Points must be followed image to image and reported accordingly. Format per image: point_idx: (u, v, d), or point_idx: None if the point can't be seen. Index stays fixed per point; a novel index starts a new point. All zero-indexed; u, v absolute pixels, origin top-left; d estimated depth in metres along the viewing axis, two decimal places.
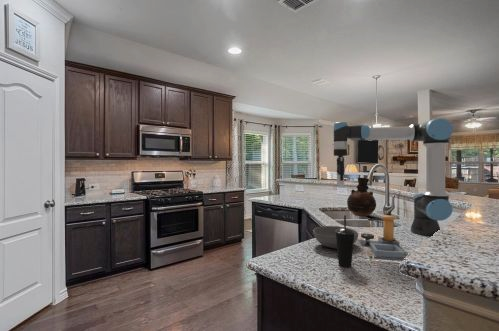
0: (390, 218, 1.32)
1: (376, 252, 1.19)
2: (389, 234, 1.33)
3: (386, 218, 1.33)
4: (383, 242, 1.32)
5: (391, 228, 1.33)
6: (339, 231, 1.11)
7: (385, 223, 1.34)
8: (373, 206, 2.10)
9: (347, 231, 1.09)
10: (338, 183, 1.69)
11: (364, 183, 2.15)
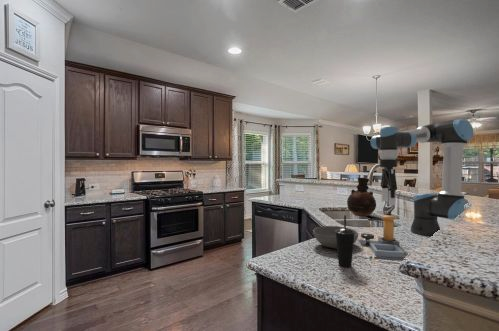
0: (390, 218, 1.32)
1: (376, 252, 1.19)
2: (389, 234, 1.33)
3: (386, 218, 1.33)
4: (383, 242, 1.32)
5: (391, 228, 1.33)
6: (339, 231, 1.11)
7: (385, 223, 1.34)
8: (373, 206, 2.10)
9: (347, 231, 1.09)
10: (383, 199, 1.41)
11: (364, 183, 2.15)
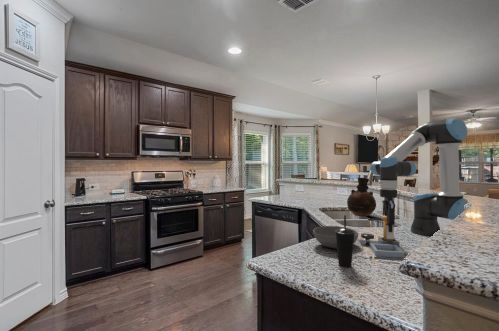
0: None
1: (376, 252, 1.19)
2: None
3: (386, 218, 1.33)
4: (383, 242, 1.32)
5: None
6: (339, 231, 1.11)
7: (385, 223, 1.34)
8: (373, 206, 2.10)
9: (347, 231, 1.09)
10: None
11: (364, 183, 2.15)
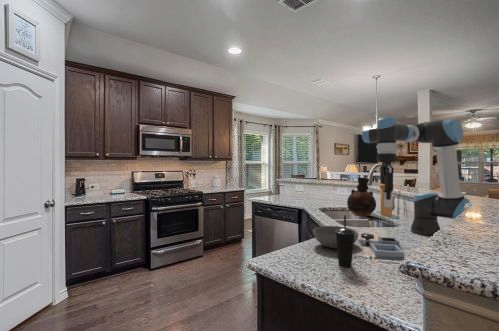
0: None
1: (376, 252, 1.19)
2: None
3: (384, 185, 1.21)
4: (383, 242, 1.32)
5: None
6: (339, 231, 1.11)
7: (382, 191, 1.22)
8: (373, 206, 2.10)
9: (347, 231, 1.09)
10: None
11: (364, 183, 2.15)
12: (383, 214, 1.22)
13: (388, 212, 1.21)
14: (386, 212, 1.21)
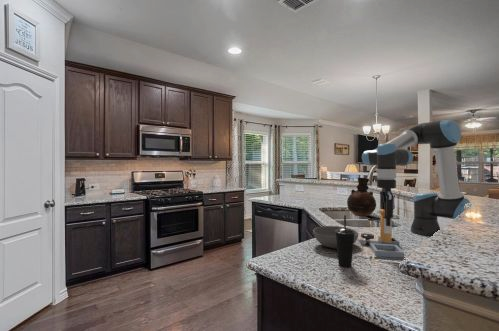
0: None
1: (376, 252, 1.19)
2: None
3: (383, 212, 1.21)
4: (383, 242, 1.32)
5: None
6: (339, 231, 1.11)
7: (382, 217, 1.22)
8: (373, 206, 2.10)
9: (347, 231, 1.09)
10: None
11: (364, 183, 2.15)
12: (383, 240, 1.22)
13: (388, 239, 1.21)
14: (386, 238, 1.21)
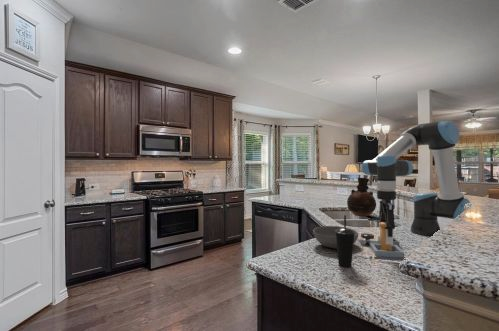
0: None
1: (376, 252, 1.19)
2: None
3: (384, 225, 1.21)
4: None
5: None
6: (339, 231, 1.11)
7: (383, 231, 1.22)
8: (373, 206, 2.10)
9: (347, 231, 1.09)
10: None
11: (364, 183, 2.15)
12: None
13: None
14: None
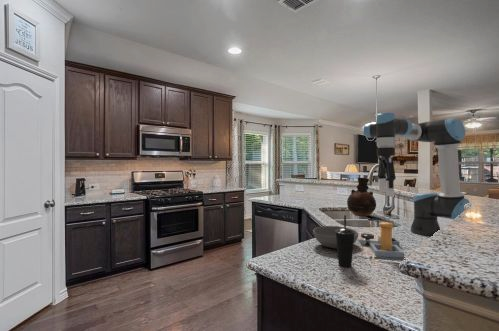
0: (388, 225, 1.21)
1: (376, 252, 1.19)
2: (387, 243, 1.21)
3: (384, 225, 1.21)
4: None
5: (389, 236, 1.21)
6: (339, 231, 1.11)
7: (382, 231, 1.22)
8: (373, 206, 2.10)
9: (347, 231, 1.09)
10: (381, 190, 1.34)
11: (364, 183, 2.15)
12: None
13: None
14: None
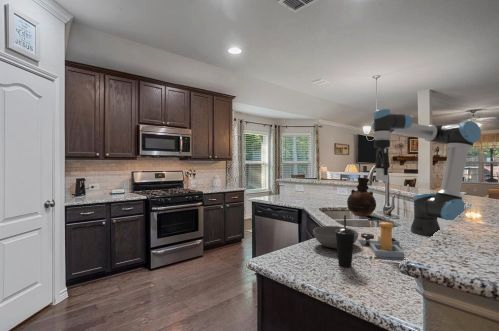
0: (388, 225, 1.21)
1: (376, 252, 1.19)
2: (387, 243, 1.21)
3: (383, 225, 1.21)
4: None
5: (389, 236, 1.21)
6: (339, 231, 1.11)
7: (382, 231, 1.22)
8: (373, 206, 2.10)
9: (347, 231, 1.09)
10: (378, 178, 1.50)
11: (364, 183, 2.15)
12: None
13: None
14: None
